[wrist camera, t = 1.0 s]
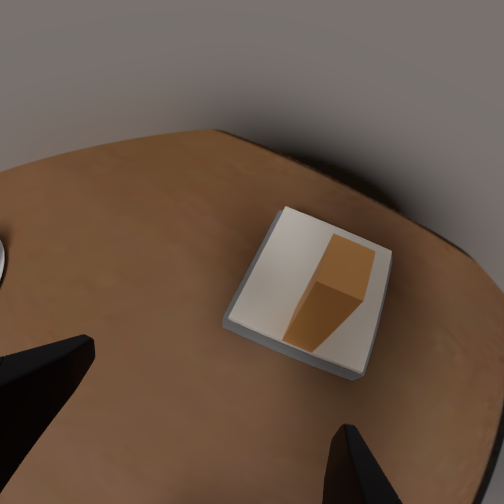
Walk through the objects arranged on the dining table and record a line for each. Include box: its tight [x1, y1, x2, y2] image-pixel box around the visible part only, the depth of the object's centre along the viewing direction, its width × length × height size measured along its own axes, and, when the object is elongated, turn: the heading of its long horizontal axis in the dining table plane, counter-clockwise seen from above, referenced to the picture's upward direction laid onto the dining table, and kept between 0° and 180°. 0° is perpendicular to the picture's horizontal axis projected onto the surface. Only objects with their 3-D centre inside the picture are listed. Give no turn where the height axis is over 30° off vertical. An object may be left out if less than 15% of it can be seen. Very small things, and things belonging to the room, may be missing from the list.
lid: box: [228, 206, 392, 373], centre depth 21 cm, size 12×11×10 cm
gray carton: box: [223, 210, 393, 381], centre depth 26 cm, size 12×12×2 cm
